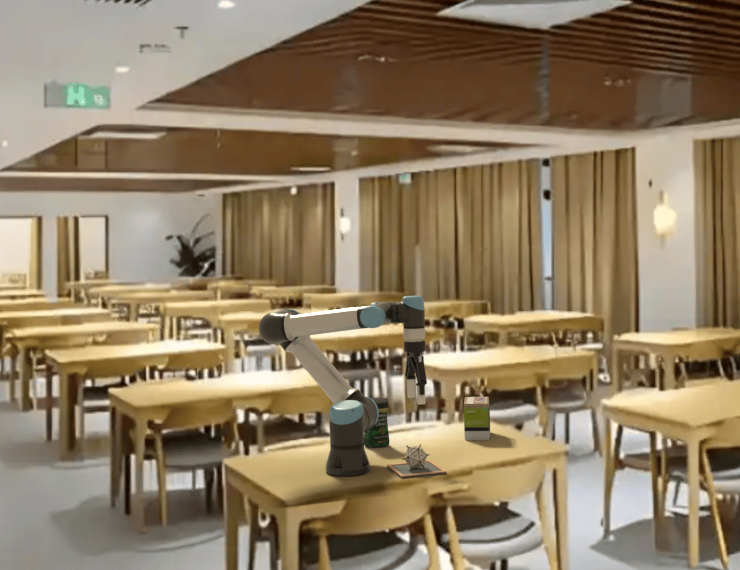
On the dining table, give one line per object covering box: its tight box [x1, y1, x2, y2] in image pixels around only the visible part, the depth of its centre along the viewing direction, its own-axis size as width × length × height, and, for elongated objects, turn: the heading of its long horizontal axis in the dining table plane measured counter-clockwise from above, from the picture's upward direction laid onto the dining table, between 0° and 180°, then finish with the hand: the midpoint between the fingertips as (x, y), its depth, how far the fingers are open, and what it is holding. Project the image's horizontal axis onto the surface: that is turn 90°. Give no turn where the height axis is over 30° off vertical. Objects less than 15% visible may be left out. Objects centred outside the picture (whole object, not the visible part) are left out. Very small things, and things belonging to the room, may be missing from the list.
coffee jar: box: [364, 397, 390, 449], centre depth 350 cm, size 10×8×19 cm
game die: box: [401, 443, 430, 470], centre depth 312 cm, size 9×8×10 cm
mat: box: [386, 460, 447, 479], centre depth 312 cm, size 16×16×1 cm
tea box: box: [463, 396, 491, 441], centre depth 363 cm, size 15×10×15 cm, turn 172°
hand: (416, 400), depth 319 cm, fingers open, 13 cm apart
